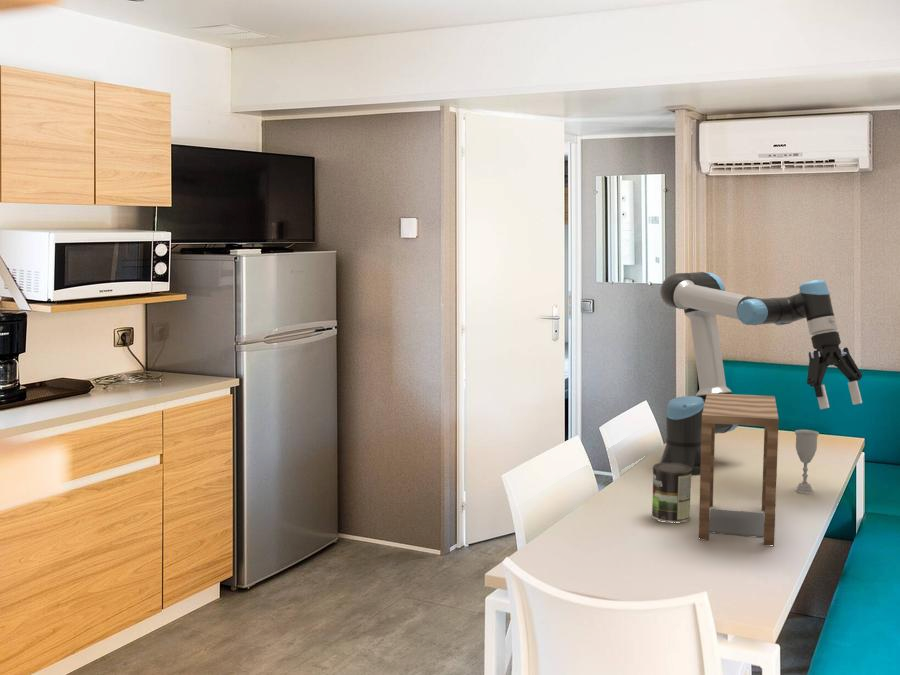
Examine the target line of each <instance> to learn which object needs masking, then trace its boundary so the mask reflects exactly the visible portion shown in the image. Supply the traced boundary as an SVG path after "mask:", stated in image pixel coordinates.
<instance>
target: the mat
mask: <svg viewBox="0 0 900 675" xmlns="http://www.w3.org/2000/svg"><path fill="white" fill-rule="evenodd" d="M764 517H765V512H755V511H742V510H741V511H740V510H730V509H720V508H718V509H717V508H710V512H709V532H715V533H714V534H718V533H723V534H722V535H729V534H732V535H731V536H739V535H742V537H750V536H756V537H755V538H761V537H764Z"/></svg>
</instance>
